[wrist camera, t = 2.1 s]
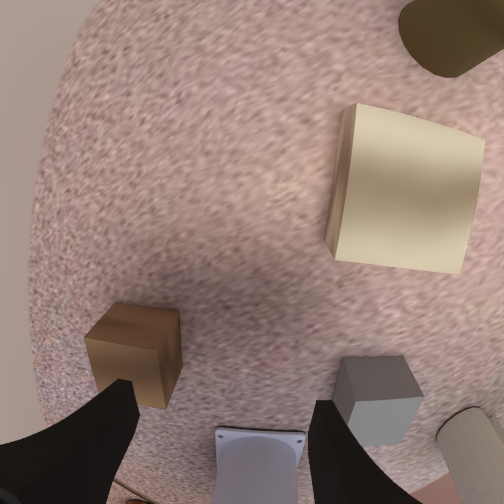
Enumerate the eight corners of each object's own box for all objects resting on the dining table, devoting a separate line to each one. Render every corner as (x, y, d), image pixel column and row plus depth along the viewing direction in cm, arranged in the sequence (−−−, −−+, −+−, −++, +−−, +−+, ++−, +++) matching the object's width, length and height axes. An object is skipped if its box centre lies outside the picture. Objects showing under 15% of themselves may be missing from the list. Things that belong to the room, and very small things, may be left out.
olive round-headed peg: (384, 39, 15) (474, -38, 5) (415, -14, 14) (493, -89, 3) (456, 95, 16) (575, 75, 5) (481, 39, 14) (581, 2, 4)
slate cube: (385, 401, 24) (400, 442, 19) (330, 403, 24) (338, 448, 19) (402, 355, 22) (424, 396, 17) (342, 356, 22) (355, 401, 17)
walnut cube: (182, 365, 23) (165, 409, 19) (124, 356, 24) (99, 395, 19) (179, 310, 22) (157, 350, 17) (115, 302, 22) (83, 337, 17)
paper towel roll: (425, 438, 25) (479, 605, 5) (466, 399, 23) (548, 566, 3) (457, 448, 26) (509, 585, 6) (494, 413, 24) (564, 549, 4)
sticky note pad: (431, 253, 20) (459, 274, 16) (323, 238, 20) (335, 260, 16) (451, 139, 17) (484, 140, 13) (340, 112, 17) (357, 102, 14)
